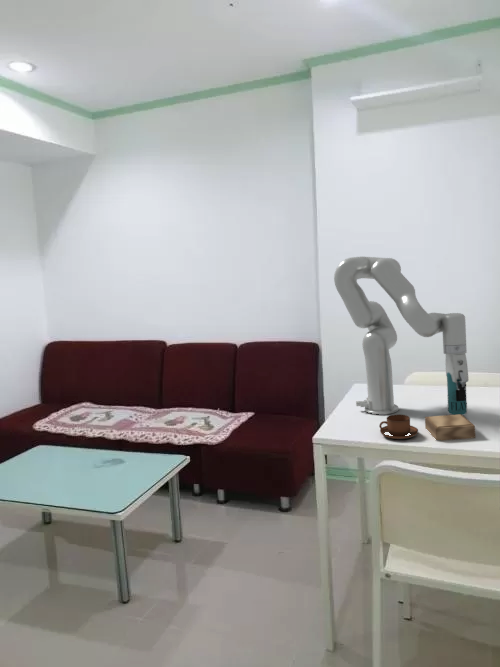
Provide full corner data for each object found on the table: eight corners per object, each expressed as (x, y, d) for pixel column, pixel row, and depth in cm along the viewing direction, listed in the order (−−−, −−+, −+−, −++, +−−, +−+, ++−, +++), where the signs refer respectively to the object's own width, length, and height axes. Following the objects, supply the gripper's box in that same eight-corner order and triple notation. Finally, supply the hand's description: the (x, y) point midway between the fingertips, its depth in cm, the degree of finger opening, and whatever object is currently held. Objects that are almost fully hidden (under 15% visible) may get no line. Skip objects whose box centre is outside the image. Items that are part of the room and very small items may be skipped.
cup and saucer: (393, 444, 162) (392, 425, 161) (373, 433, 173) (372, 416, 172) (425, 437, 165) (425, 419, 164) (404, 427, 176) (403, 410, 176)
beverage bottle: (448, 419, 180) (446, 363, 177) (447, 413, 186) (444, 359, 183) (468, 419, 178) (466, 362, 175) (466, 413, 184) (464, 358, 181)
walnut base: (436, 440, 161) (435, 427, 161) (425, 428, 173) (424, 416, 172) (475, 438, 160) (474, 424, 160) (461, 425, 172) (461, 413, 172)
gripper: (475, 352, 170) (477, 403, 172) (457, 343, 187) (459, 390, 189) (452, 354, 170) (454, 405, 173) (436, 345, 188) (438, 392, 190)
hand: (456, 397), depth 181 cm, fingers open, 7 cm apart
